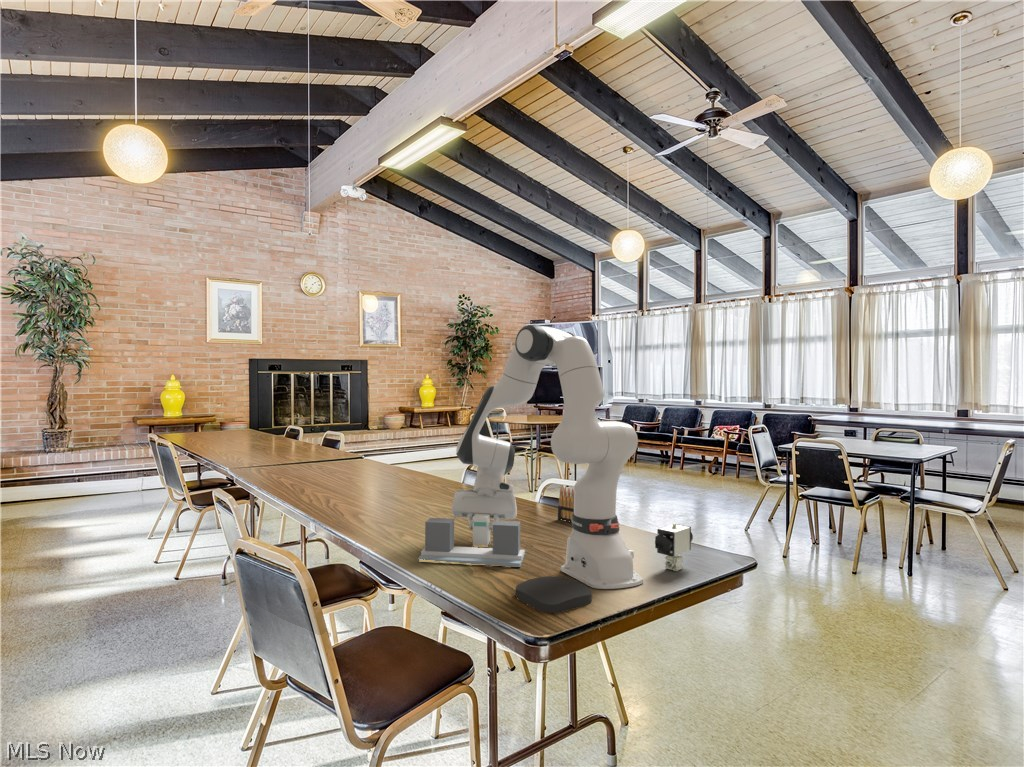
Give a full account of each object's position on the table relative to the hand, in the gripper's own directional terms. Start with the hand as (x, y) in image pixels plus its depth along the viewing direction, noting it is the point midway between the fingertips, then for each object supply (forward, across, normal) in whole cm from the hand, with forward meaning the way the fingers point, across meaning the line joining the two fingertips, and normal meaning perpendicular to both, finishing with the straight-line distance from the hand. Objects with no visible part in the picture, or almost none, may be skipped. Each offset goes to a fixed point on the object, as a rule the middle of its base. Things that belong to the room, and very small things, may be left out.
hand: (481, 529), depth 167 cm
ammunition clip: (-20, +26, +28) cm, 43 cm away
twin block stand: (+12, 0, -5) cm, 13 cm away
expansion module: (+3, 0, +4) cm, 5 cm away
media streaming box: (+31, +24, -23) cm, 45 cm away
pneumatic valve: (+13, +54, -5) cm, 56 cm away
